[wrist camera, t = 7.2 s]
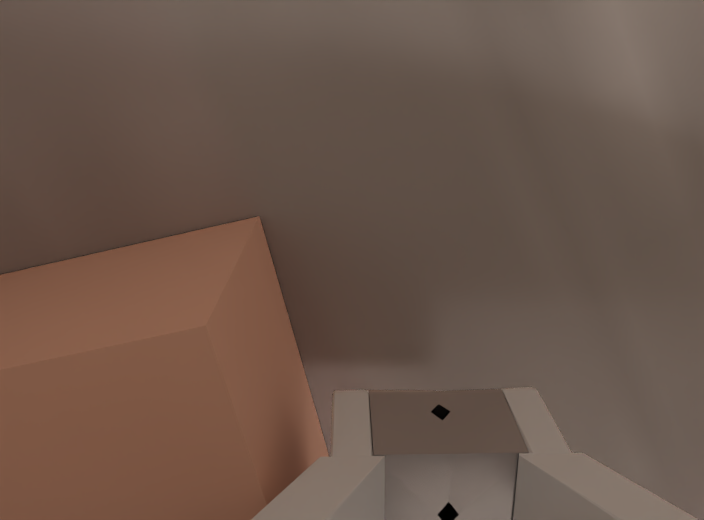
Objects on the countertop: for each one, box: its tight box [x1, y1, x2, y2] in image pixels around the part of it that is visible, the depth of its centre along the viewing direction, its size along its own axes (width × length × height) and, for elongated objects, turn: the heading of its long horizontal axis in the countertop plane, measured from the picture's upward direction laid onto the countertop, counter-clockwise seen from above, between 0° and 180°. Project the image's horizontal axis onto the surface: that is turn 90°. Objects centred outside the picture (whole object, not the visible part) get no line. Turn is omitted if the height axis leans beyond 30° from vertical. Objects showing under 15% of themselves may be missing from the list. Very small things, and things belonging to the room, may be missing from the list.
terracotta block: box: [0, 216, 329, 520], centre depth 9 cm, size 6×6×4 cm
